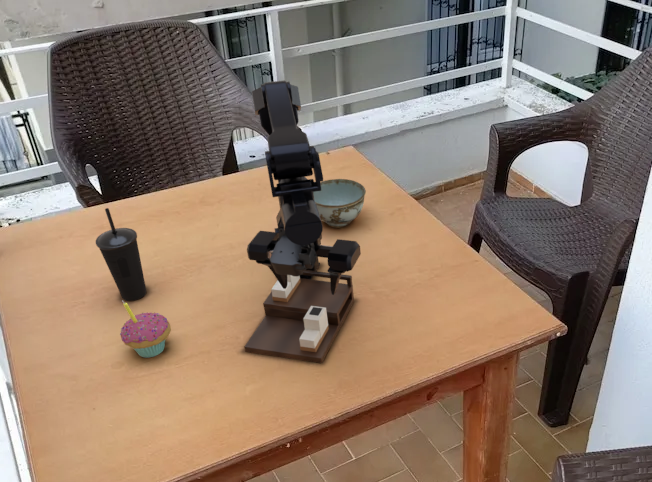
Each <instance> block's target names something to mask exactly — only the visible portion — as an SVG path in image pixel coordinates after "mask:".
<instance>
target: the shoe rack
mask: <svg viewBox="0 0 652 482" xmlns="http://www.w3.org/2000/svg"><path fill="white" fill-rule="evenodd" d="M301 275H307V276H313V277H316V278H324V279H330V273H329V272H325V271H318V270H317V271H310V270H305V271H303V273H302V274H301ZM352 276H353V275H351V274H344V273H343V274H341V277H340V280H339V281H346V283H344V282H343V283H342V282H339V283H338V287H337V290H336V293H335V294H334V295H332V293H331V285H330V281H327V280H326V281H325V280H320V279H319V280H317V279H303V278H300V281H301V282H300V284H299V285H298V287H297V288H296V290H295V291H294V293H293V294H292V296H291V297H290V299H289V300H288V302H281V301H274V300H273V298H272V290H270V293H269V294H268V295H267V297H266V298H265V300H264V301H263V304H262V305H263V310H264V317H263V318H262V320H261V321H260V323H259V324H258V326H257V327H256V329H255V330H254V332H253V333H252V335H250V338H249V339H248V341H246V344H245V345H244V352H246V353H251V354H252V353H253V354H258V355H265V356H272V357H278V358H285V359H292V360H297V361H298V360H300V361H304V362H305V361H306V362H312V363H320V364H322V363H323V362H324V360H325V359H326V357H327V354H328V352H329V351H330V348H331V347H332V346H333V342H334V341H335V339H336V337H337V335H338V334H339V331H340V329H341V328H342V325H343V323H344V322H345V320H346V319H347V316H348V314H349V313H350V310H351V309H352V306H354V305H353V304H354V303H355V296H354V286H353V277H352ZM311 306H316V307H324V308H326V311H327V319H328V327H329V329H328V331H327V333H326V335H325V336H324V338H323V340H322V342H321V344H320V346H319V347H318V349H317V351H316V352H310V351H304V350H300V341H299V338H300V337H301V335H302V333H303V332H304V330H305V327H304V320H303V318H304V317H305V315H306V313H307V312H308V310H309V308H310V307H311Z"/></svg>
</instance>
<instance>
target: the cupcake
mask: <svg viewBox="0 0 652 482" xmlns="http://www.w3.org/2000/svg"><path fill="white" fill-rule="evenodd" d="M121 302H122V303H123V304H122V305H123V306H124V309H125V310H126V312H127V313H128V315H129V317H130V318H129V319H128V320H126V321H125V323H123V326H122V327H121V328H120V333H119V335H120V338H121V339H120V340H121V341H122V342H123V343H124V345H126V346H128V347H130V348H132V349H133V350H134V351H135V352H136V353H137V354H138V356H140V357H141V358H147V359H148V358H154V357H156V356H158V355H160V354H161V353H162V352H163V351H164V350H165V345H166V340H167V339H168V338H169V336H170V333H171V331H172V327H171V323H170V321H169V320H168V318H167V317H166V316H164V315H162V314H160V313H159V312H141V313H138V314H134V313H133V311H132V309H131V308H130V306H129V304H128V302H125V300H124V299H122V300H121Z"/></svg>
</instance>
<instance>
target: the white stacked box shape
mask: <svg viewBox="0 0 652 482" xmlns="http://www.w3.org/2000/svg"><path fill="white" fill-rule="evenodd" d="M303 320H304V327H305V330H304V332H303V333H302V335H301V337H300V338H299V341H300V350H304V351H310V352H316V351H317V349H318V347H319V346H320V344H321V342H322V340H323V338H324V336H325V335H326V333H327V331H328V329H329V327H328V319H327V311H326V308H324V307H316V306H311V307H310V308H309V310H308V312H307V313H306V315H305V317H304V318H303Z"/></svg>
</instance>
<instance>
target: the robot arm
mask: <svg viewBox="0 0 652 482" xmlns="http://www.w3.org/2000/svg"><path fill="white" fill-rule="evenodd" d="M251 98H252V102H253V109H254V115H255V116H259V122H260V125H261V128H262V129H263V130H264V131H265V132H266V134H267V135H268V137H267V138H266V141H267V146H268V147H267V148H268V150H267V151H264V155H265V162H266V167H267V173H268V178H269V186H270V190H271V196H272V198H277V199H278V205H279V210H278V213H277V214H276V224H277V227H274V231H267V230H259V231H258V232H257V233H256V235H254V237H253V238H252V239H251V240H250V242H249V243H248V244H247V247H246V253H247V258H248V259H249V260H250V261H255V262H256V263H257V264H259V265H263V266H266V267H267V268H268V269H269V270H270V271H271V272H272V274H273V275H274V276H275V278H276V281H277V280H278V281H279V283H280V284H281V286H282V287H283V288H284V289H286V287H287V275H292V276H300V278H303V279H311V280H313V277H314V276H307V275H301V274H302V273H303V271H305V270H310V271H318V270H319V269H320V266H321V263H320V262H319V258H325V259H326V261H327V266H328V269H327V270H326V271H327V273H330V278H329V279H330V280H329V282H330V285H331V293H332V295H334V294H335V293H336V290H337V287H338V283H340V281H341V280H340V277H341V274H343V275H344V274H345V273H347V272H350V271H352V270H353V268H354V267H355V265H356V263H357V261H358V260H359V258H360V256H361V254H362V253H361V246H360V244H359V243H358V242H357V241H356V240H349V239H339V238H337V239H336V241H335V242H334V244H333V245H324V244H322V239H323V231H324V226H323V221H322V220H321V218H320V215H319V211H318V208H317V204H316V203H315V201H314V193H313V192H316V191H321V184H320V182H323V181H324V175H323V169H322V165H321V159H320V154H319V152H318V151H317V150H316V147H315V146H314V145H310V141H309V138H308V134H307V133H306V132H304V131H302V130H300V129H299V128H298V125H299V115H298V114H299V113H298V111H301V108H302V104H301V97H300V91H299V86H297V85H294V84H291V82H290V81H287V80H277V81H275V80H274V81H267V82H266V81H265V82H264V83H262V84H260V86H259V87H258V88H256V89H254V90H252V91H251ZM313 175H314V178H310V179H309V178H307V177H312V176H313ZM274 181H277V183H276V186H275V182H274Z"/></svg>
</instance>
